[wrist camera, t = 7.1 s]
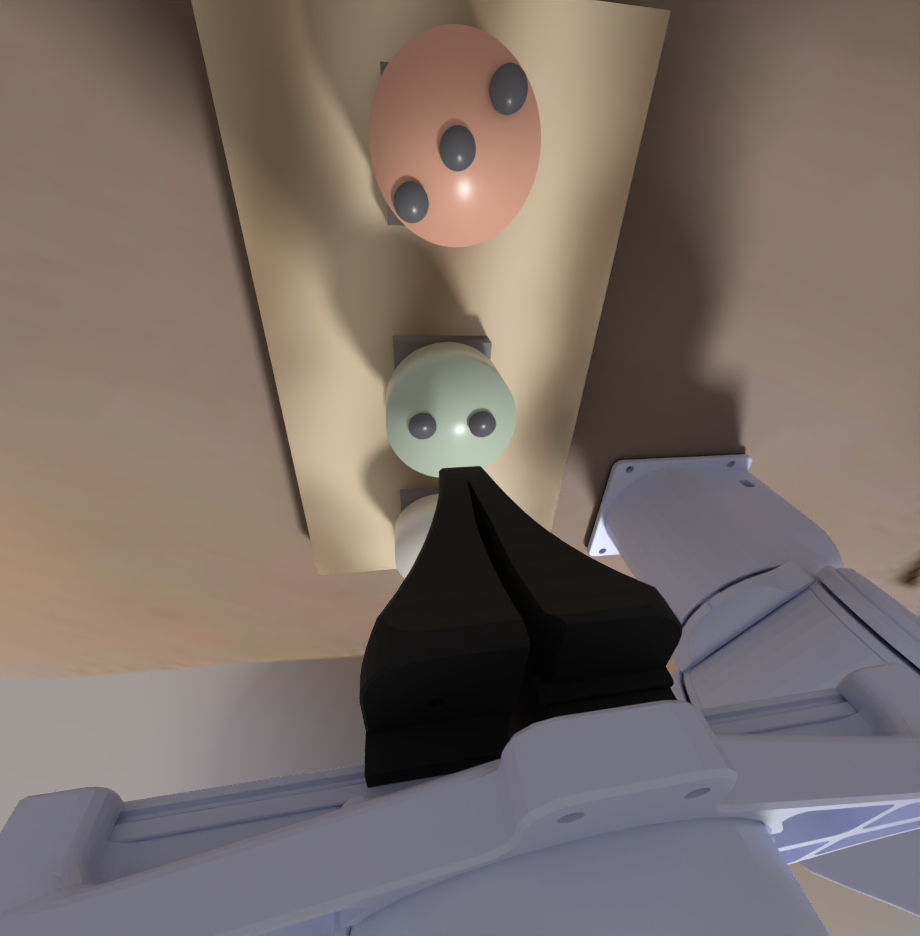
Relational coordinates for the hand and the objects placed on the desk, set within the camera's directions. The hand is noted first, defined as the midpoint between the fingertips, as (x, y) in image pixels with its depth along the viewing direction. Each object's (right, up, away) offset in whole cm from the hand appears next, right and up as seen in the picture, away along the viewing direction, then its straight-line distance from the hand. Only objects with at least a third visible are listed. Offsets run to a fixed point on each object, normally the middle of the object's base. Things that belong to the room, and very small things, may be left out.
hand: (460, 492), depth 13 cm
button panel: (-1, +6, +7) cm, 9 cm away
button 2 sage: (-1, +3, +3) cm, 5 cm away
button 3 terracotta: (0, +11, 0) cm, 11 cm away
